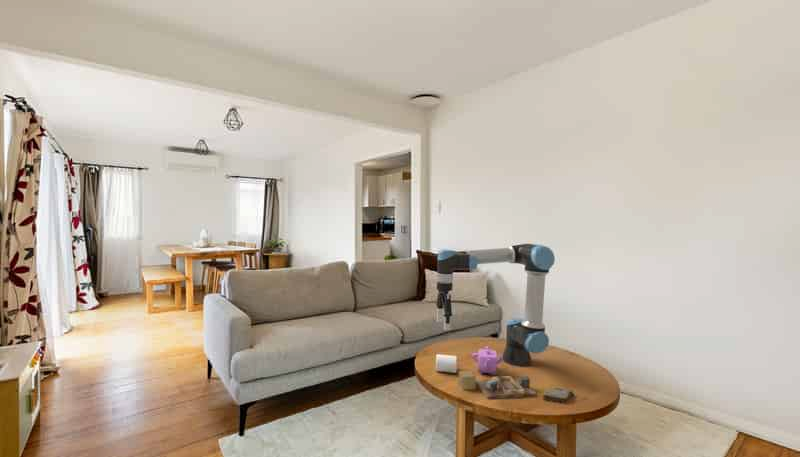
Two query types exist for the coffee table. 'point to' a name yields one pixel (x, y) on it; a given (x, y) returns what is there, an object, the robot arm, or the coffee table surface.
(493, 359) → the teapot
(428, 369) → the coffee table surface
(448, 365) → the mug
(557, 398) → the stone
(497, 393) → the framed base plate
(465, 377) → the gold cube
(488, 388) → the shafts
